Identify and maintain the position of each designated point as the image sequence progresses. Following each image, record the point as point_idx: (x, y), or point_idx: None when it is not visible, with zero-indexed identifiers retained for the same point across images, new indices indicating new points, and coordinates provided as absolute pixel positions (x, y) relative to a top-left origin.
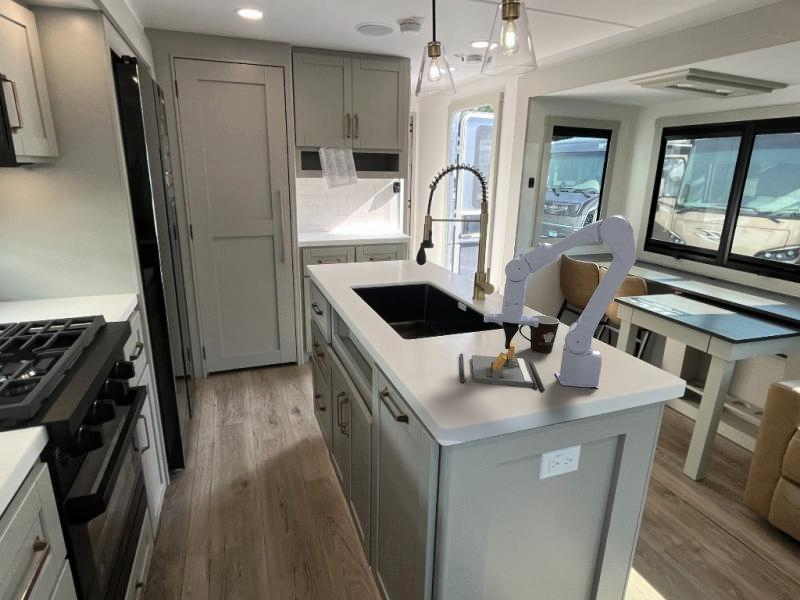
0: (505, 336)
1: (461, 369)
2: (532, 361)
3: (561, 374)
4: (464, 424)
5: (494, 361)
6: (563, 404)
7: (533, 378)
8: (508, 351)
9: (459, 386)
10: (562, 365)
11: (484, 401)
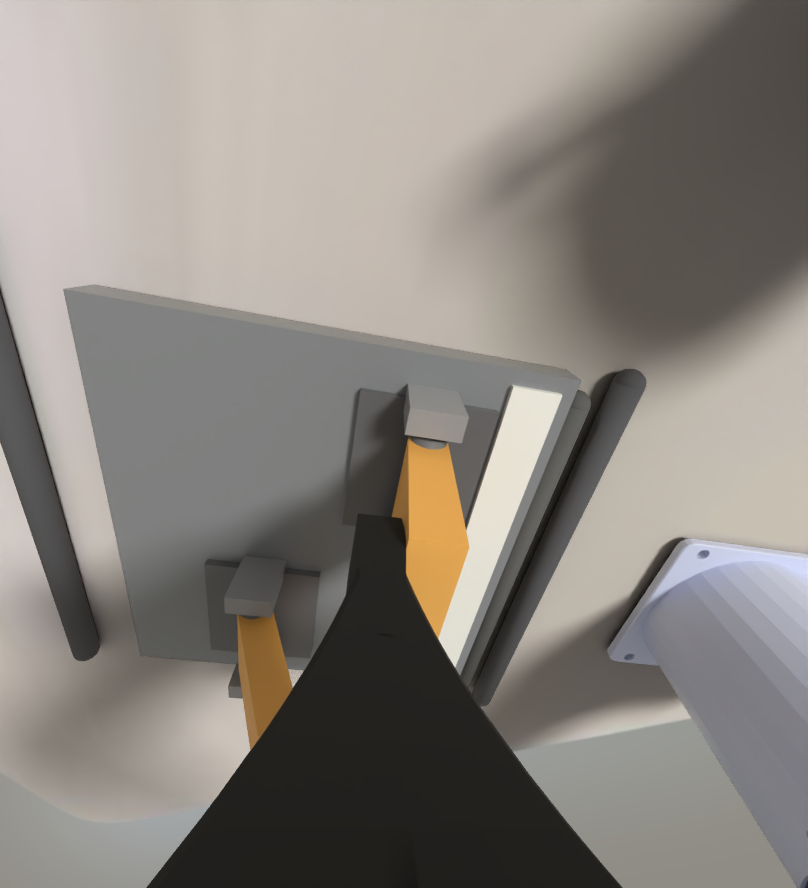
0: (339, 617)
1: (40, 557)
2: (629, 415)
3: (661, 647)
4: (147, 818)
5: (288, 444)
6: (510, 747)
7: (483, 640)
8: (401, 500)
9: (85, 664)
10: (702, 705)
11: (209, 742)
